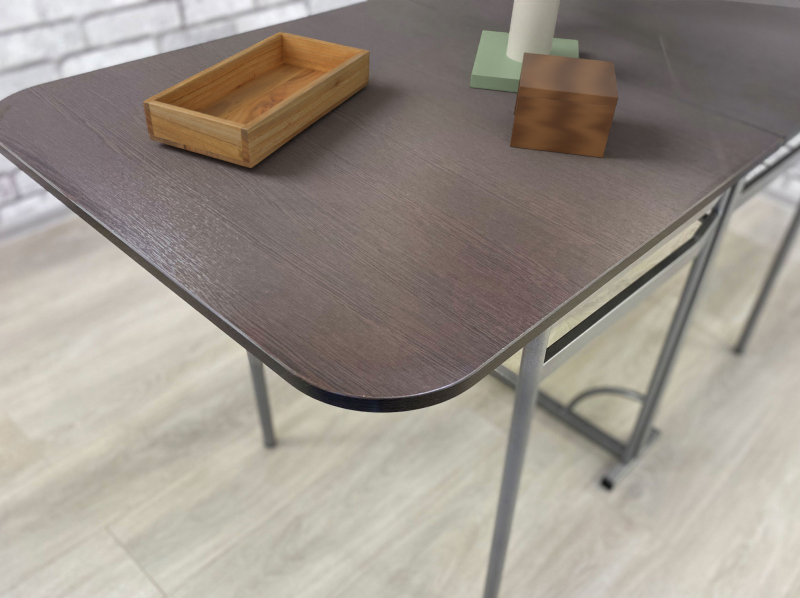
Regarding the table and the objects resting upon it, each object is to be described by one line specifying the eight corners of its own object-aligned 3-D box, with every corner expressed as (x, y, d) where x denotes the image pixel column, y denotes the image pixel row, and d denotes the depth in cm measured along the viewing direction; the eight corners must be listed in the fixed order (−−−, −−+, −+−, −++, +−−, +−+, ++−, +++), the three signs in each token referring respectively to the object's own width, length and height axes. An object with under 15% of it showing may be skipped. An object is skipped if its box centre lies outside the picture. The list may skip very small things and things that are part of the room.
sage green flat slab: (575, 52, 121) (578, 40, 119) (577, 99, 106) (580, 86, 105) (481, 42, 122) (482, 30, 121) (469, 87, 108) (471, 74, 106)
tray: (281, 66, 110) (279, 27, 107) (369, 87, 106) (370, 47, 102) (149, 145, 90) (141, 100, 86) (251, 175, 85) (247, 129, 81)
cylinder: (549, 50, 115) (570, -62, 104) (549, 66, 110) (571, -50, 99) (507, 46, 116) (524, -66, 105) (504, 61, 111) (522, -55, 100)
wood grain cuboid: (599, 119, 101) (613, 61, 96) (602, 157, 92) (618, 97, 87) (514, 109, 103) (523, 52, 97) (509, 146, 94) (519, 86, 88)
